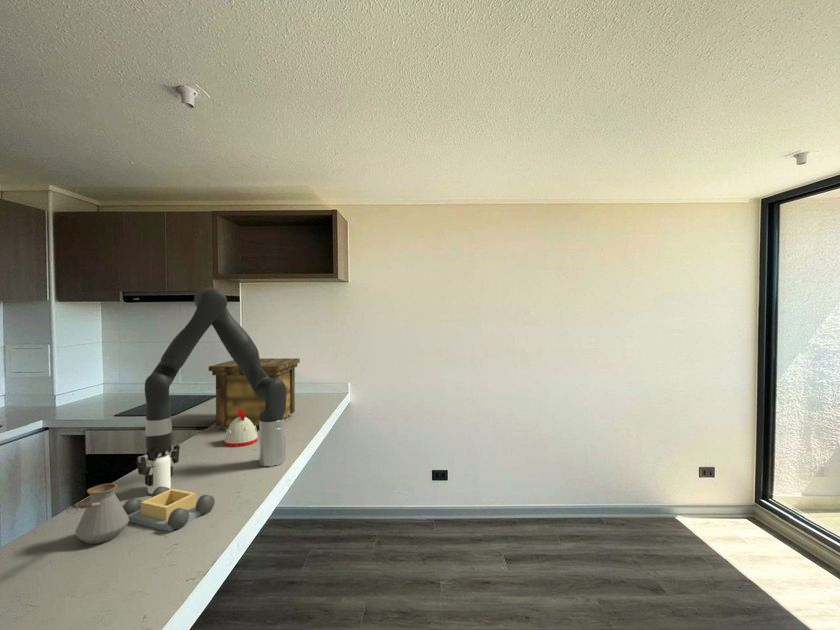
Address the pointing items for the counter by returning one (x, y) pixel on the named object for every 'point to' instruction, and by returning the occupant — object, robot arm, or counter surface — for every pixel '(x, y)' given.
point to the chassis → (168, 508)
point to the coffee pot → (101, 515)
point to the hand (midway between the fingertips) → (159, 481)
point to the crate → (249, 389)
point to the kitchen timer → (241, 432)
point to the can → (160, 473)
